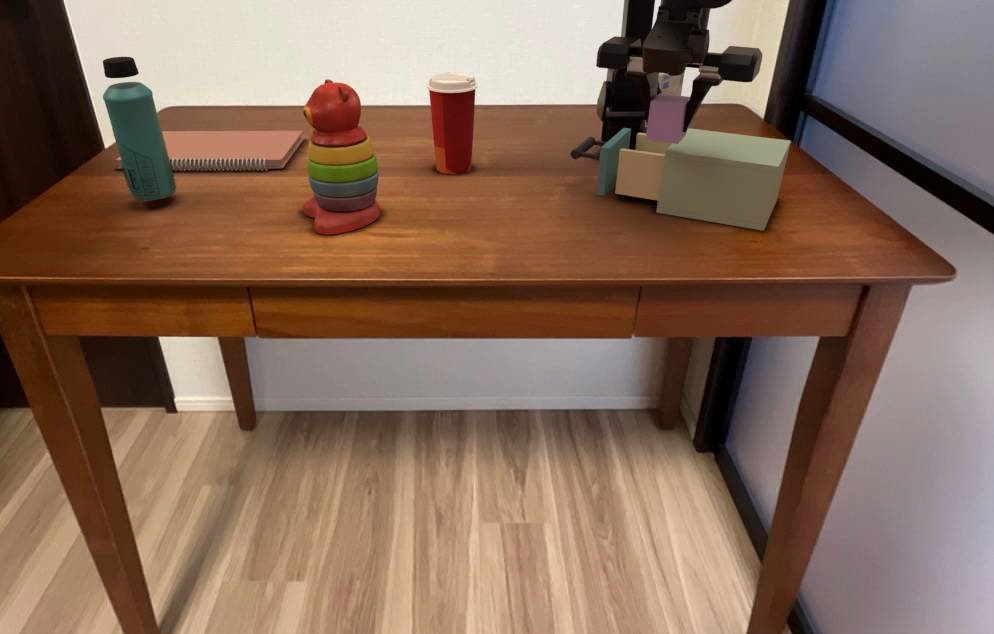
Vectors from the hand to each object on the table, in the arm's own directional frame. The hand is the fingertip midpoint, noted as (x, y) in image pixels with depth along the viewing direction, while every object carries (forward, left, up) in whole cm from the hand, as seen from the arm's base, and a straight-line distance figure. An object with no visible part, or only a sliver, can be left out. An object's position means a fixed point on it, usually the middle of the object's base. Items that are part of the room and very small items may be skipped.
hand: (667, 129), depth 92 cm
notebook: (-74, -7, -12) cm, 75 cm away
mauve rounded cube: (0, 0, -1) cm, 1 cm away
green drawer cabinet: (+7, +7, -12) cm, 15 cm away
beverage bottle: (-66, -27, -12) cm, 72 cm away
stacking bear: (-38, -19, -12) cm, 44 cm away
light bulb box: (-12, +41, -12) cm, 44 cm away
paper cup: (-34, +5, -12) cm, 36 cm away
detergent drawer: (-5, +7, -11) cm, 13 cm away
